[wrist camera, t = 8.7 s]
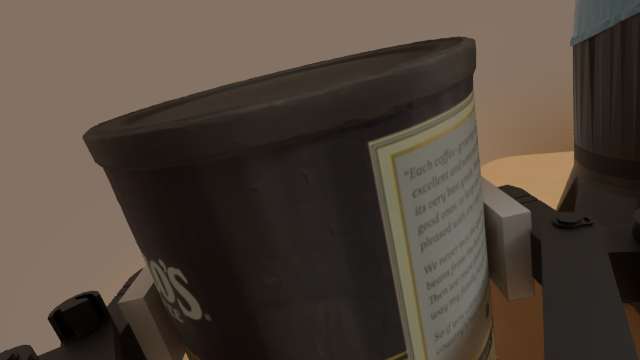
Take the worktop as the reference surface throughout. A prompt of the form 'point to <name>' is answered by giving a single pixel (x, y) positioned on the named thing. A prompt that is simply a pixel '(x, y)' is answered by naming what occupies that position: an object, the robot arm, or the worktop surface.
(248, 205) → the coffee can
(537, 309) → the worktop surface
